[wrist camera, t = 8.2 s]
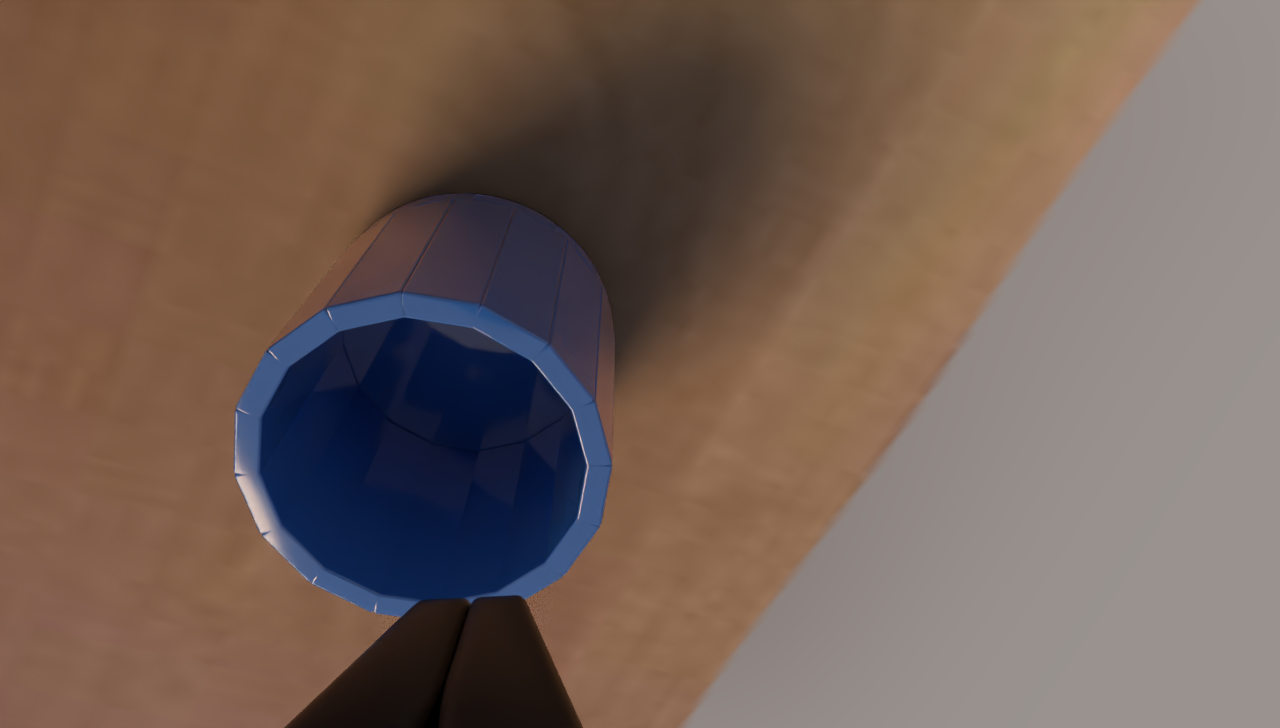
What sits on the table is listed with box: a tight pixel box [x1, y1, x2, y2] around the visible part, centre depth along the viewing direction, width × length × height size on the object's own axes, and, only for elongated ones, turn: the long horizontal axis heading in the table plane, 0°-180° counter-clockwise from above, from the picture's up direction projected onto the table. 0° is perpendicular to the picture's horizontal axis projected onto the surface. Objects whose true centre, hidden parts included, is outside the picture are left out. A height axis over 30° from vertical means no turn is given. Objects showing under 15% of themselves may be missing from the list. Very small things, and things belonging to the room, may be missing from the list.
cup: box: [234, 193, 615, 617], centre depth 18 cm, size 6×6×6 cm
